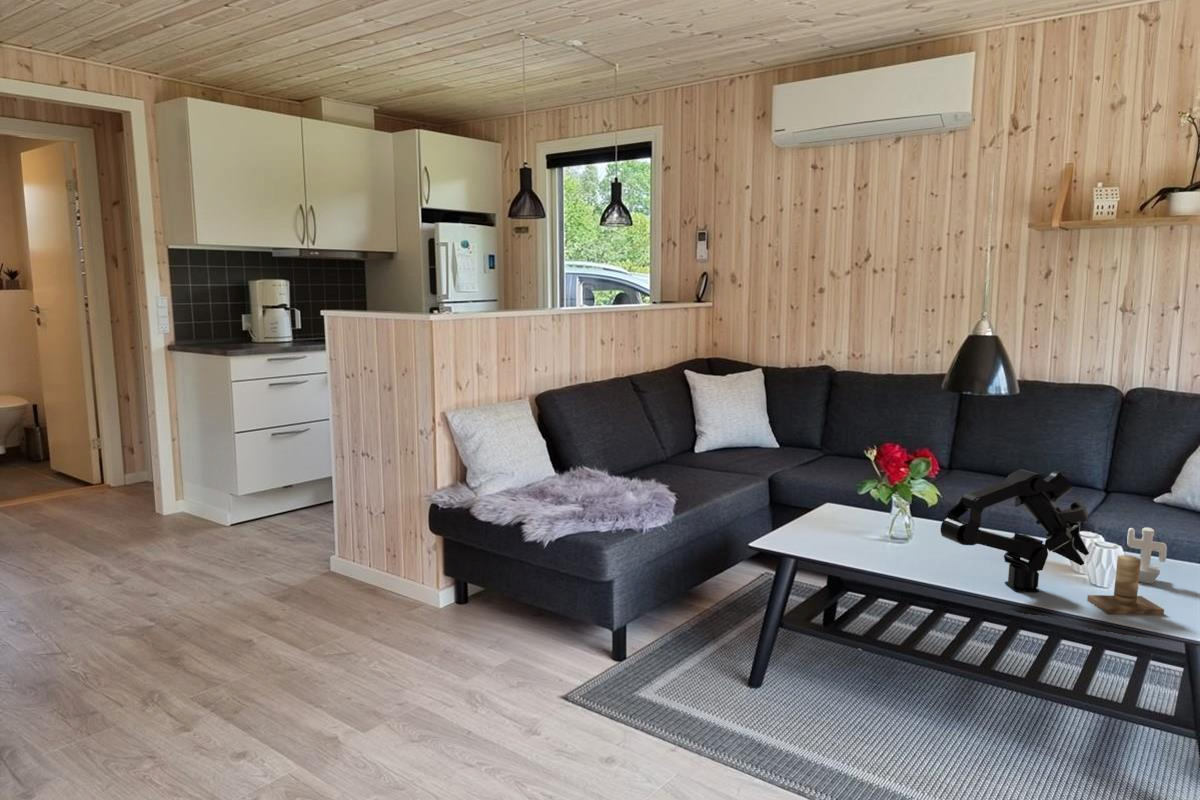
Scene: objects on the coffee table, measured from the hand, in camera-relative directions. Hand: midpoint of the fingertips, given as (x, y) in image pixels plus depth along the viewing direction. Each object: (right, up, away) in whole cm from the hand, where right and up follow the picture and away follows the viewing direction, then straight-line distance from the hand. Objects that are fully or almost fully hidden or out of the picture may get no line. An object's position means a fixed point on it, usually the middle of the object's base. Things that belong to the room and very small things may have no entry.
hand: (1085, 559), depth 216 cm
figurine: (+25, -9, +15) cm, 31 cm away
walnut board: (+7, -11, -5) cm, 14 cm away
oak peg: (+7, -11, -5) cm, 14 cm away
